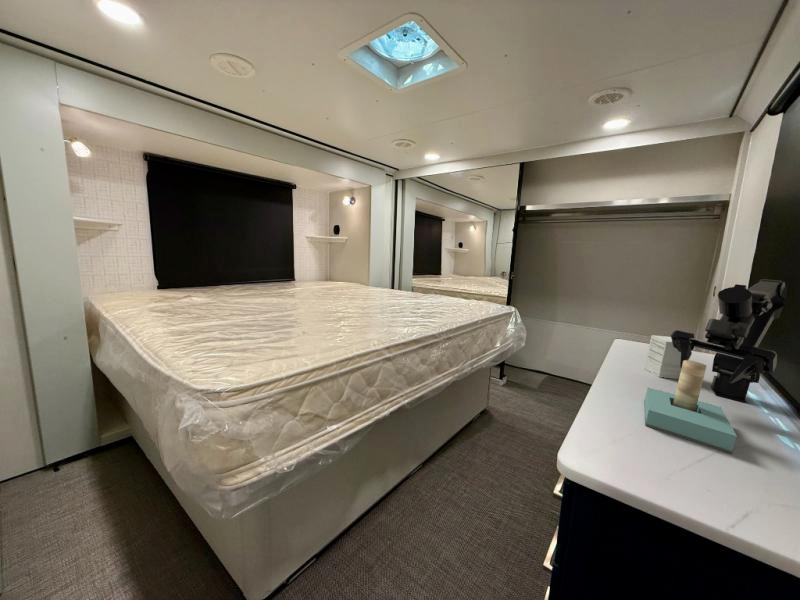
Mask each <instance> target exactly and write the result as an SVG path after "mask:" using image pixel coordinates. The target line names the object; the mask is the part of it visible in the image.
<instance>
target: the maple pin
mask: <svg viewBox="0 0 800 600" xmlns="http://www.w3.org/2000/svg"><path fill="white" fill-rule="evenodd" d="M706 370H707V365H706V364H704V363H702V362H699V361H695V360H684V361H683V364H682V368H681V373H680V377H679V379H678V382H677V385H676V391H675V393H674V395H675V398H674V402H673V406H676V407H680V408H683V409H687V410H690V411H694V412H695V410H696V406H697V402H698V401H699V398H700V393H701V390H702V385H703V382H704V377H705V374H706Z"/></svg>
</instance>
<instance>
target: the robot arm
mask: <svg viewBox="0 0 800 600" xmlns="http://www.w3.org/2000/svg"><path fill="white" fill-rule="evenodd" d="M787 287H788V286H786V282H785V281H782V280H775V279H767V278H766V279H765V278H762V279H758V280H757V282H756V283H755V284H754V285H752V286H751V287H749V288H748V289H747V284H746V285H744V284H738V283H737V284H734V286H731V287H727V288H726V287H725V288H724V289H722V290H720V291H718V293H717V301H718V311H719V314H720V315H721V316H720V318H719V319H715V318H709V319H708V322H707V324H706V325H705V326H706V327H705V328H704V330H705V332H706V334H705V335H704V336H705V339H707V340H703V339H699V338H695V334H694V333H693V332H689V331H684V330H679V329H677V330H676V329H675V330H674V331H673V332H672V333H671V334H670V337H671V339H672V343H673V347H674V348H676V349H677V350H678V351H679V352H681V362H680V368H682V364H683V361H684V360H689V359H690V358H691V356H692V352H693V350H694V349H695V348H700V349H703V350H707V351H711V352H714V353H715V355H714V357H713V361H712V367H711V368H712V370H711V372H713V373H716V375H714V376H713V378H712V382H711V385H710V389H711V390H712V392H713V394H714V395H715V396H718V397H723V398H726V399H731V400H735V401H737V402H742V403H748V400H747V399H746V398H747V394H748V392H749V387H750V385H751V384H753V383H754V384H755V383H756V384H759V382H760V380H761V375H762V374H764V373H768V374H772V373H774V371H775V369H776V367H777V362H778V354H777V352H776V351H774V350H770V349H766V348H761V347H759V345H760V344H761V342H762V340H763V338H764V337H765V335H766V333H767V331H768V329H769V328H770V326H771V324H772V322H773V321H774V320H775V319H778V318H781V317H780V314H781V312H782V309H783V307H784V304H783V300H786V295H787ZM689 361H690V360H689Z"/></svg>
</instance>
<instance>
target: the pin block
mask: <svg viewBox="0 0 800 600" xmlns="http://www.w3.org/2000/svg"><path fill="white" fill-rule="evenodd" d="M644 397H645V398H644V401H643V402H644V405H643V406H644V426H646V427H649V428H651V429H654V430H658V431H660V432H663V433H666V434H670V435H672V436H677V437H679V438H682V439H685V440H688V441H691V442H695V443H697V444H701V445H704V446H706V447H710V448H713V449H716V450H719V451H722V452H725V453H728V454H733V450H734V446H735V443H736V440H737V437H738V436H737V434H736V432H735V430H734V429H733V427H732V425H731V423H730V421H729V419H728V418H727V416H726V414H725V413H724V410H723V408H722V407H721V406H719V405H715V404H712V403H708V402H705V401H701V400H698V402H697V406H696V410H695V412H694V411H690V410H687V409H683V408H680V407H676V406H673V402H674V398H675V393H674V394H673V393H670V392H667V391H662V390H659V389H655V388H653V387H647V388H646V392H645V396H644Z"/></svg>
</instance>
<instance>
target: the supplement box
mask: <svg viewBox="0 0 800 600" xmlns="http://www.w3.org/2000/svg"><path fill="white" fill-rule="evenodd" d="M650 337H651V338H650V341H649V346H648V349H647V354H646V357H645V364H644V367H643V368H644V370H645V369H646V370H645V371H647V370H648V371H647V372H649V371H650V372H651V373H650V372H649V373H650V374H652V373H653V374H652V375H654V374H655V375H654V376H656V375H657V376H658V378H663V377H664V379H665V378H666V379H675V380H679V377H680V373H681V368H680V362H681V352H679V351H678V350H677V349H676V348H674V347H673V343H672V339H671V336H664V335H655V334H654V335H653V334H652V335H651V336H650ZM657 376H656V377H657Z"/></svg>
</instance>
